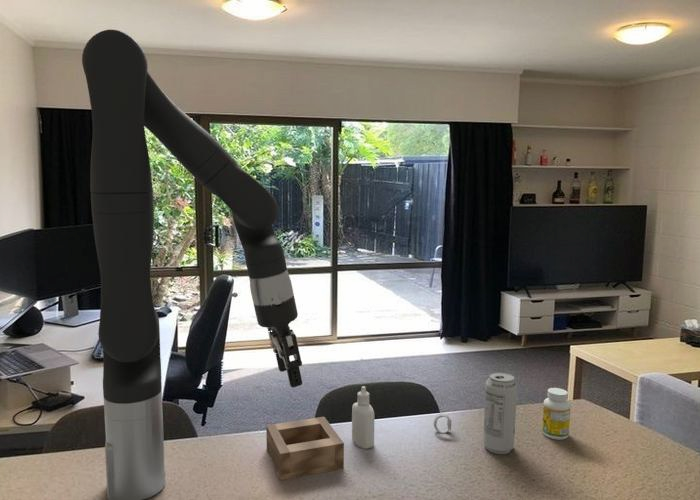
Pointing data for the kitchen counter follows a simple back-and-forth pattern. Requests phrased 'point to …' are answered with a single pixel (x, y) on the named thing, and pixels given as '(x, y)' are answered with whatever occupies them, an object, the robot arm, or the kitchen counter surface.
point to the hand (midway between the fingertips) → (290, 377)
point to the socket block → (304, 447)
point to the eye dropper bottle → (363, 421)
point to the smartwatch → (447, 422)
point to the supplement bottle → (556, 414)
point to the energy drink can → (500, 413)
